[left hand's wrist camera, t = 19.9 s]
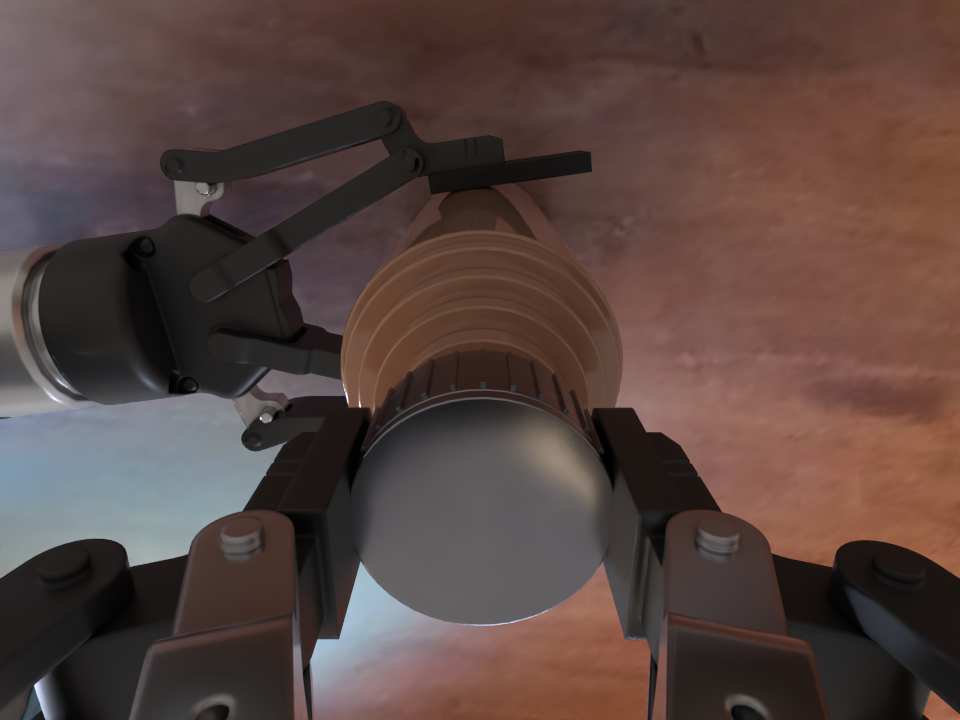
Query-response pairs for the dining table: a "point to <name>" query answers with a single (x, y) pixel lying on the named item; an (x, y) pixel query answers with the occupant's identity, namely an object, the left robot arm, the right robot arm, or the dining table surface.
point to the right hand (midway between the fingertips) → (592, 256)
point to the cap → (481, 490)
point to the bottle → (481, 299)
